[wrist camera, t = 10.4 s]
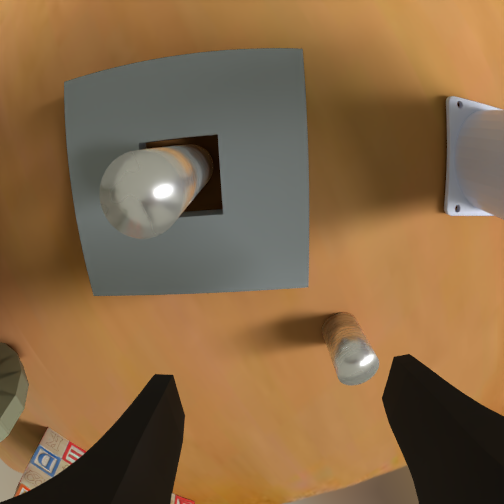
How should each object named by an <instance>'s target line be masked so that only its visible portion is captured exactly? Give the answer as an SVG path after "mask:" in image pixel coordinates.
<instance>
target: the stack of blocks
mask: <svg viewBox="0 0 504 504" xmlns="http://www.w3.org/2000/svg"><path fill="white" fill-rule="evenodd" d="M84 453H86V451H84V450H83V449H81V448H79V447H78V446H76V445H74V444H73V443H71V442H70V441H68V440H67V439H65V438H64V437H62V436H61V435H59V434H58V433H56V432H55V431H53V430H52V429H50V428H49V427H48V428H47V430H46V432H45V433H44V435H43V437H42V439H41V441H40V443H39V445H38V447H37V448H36V451H35V453H34V454H33V456H32V458H31V460H30V462H29V464H28V466H27V468H26V470H25V472H24V474H23V476H22V478H21V480H20V482H19V484H18V486H17V489H16V492H15V495H14V497H16V496H18V495H21V494H23V493H25V492H27V491H29V490H31V489H33V488H35V487H37V486H39V485H40V484H42V483H44V482H46V481H47V480H49V479H51V478H52V477H54V476H56V475H57V474H58V473H60V472H61V471H63V470H64V469H66V468H67V467H68V466H70V465H71V464H72V463H73V462H75V461H76V460H77V459H79V458H80V457H81V456H82V455H83V454H84ZM170 504H195V502H194V501H192V500H189V499H186V498H183V497H180V496H177V495H175V494H173V493H172V496H171V503H170Z"/></svg>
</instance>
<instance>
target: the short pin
mask: <svg viewBox="0 0 504 504" xmlns="http://www.w3.org/2000/svg"><path fill="white" fill-rule="evenodd" d="M322 335H323V338H324V340H325V343H326V346H327V348H328V351H329V354H330V357H331V359H332V362H333V365H334V368H335V370H336V373H337V376H338V379H339V380H340V382H342V383H343V384H346V385H358V384H361V383H364V382H366V381H367V380H369V379H370V378H371V377H372V376H373V375H374V374H375V373H376V371H377V370H378V367H379V360H378V358H377V356H376V354H375V352H374V350H373V349H372V347H371V345H370V343H369V341H368V340H367V338H366V336H365V334H364V332H363V331H362V329H361V327H360V325H359V323H358V322H357V320H356V318H355V317H354V316H353V315H352V314H350V313H345V312H341V313H337V314H334V315H332V316H331V317H329V318H328V319H327V320H326V321H325V323H324V325H323V327H322Z"/></svg>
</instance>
